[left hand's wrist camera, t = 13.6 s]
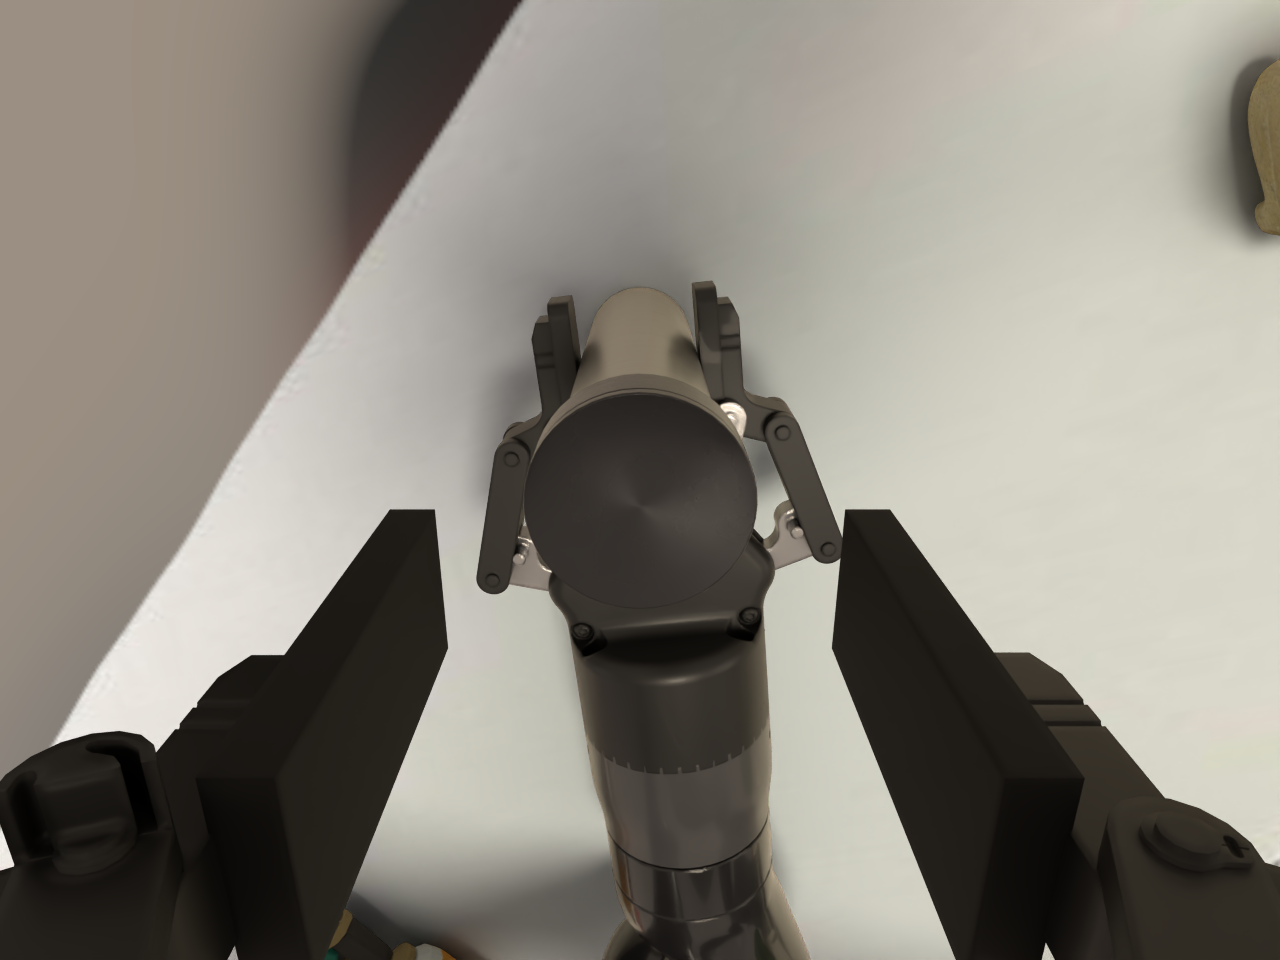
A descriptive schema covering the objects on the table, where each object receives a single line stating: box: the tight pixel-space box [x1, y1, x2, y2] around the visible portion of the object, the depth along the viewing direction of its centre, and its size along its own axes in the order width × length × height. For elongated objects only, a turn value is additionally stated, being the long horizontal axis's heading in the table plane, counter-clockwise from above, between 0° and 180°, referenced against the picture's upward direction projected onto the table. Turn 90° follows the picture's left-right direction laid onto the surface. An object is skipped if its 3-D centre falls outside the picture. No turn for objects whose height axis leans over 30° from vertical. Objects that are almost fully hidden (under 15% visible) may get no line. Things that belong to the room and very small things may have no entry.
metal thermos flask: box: [570, 287, 711, 398], centre depth 26 cm, size 4×4×18 cm
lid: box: [524, 374, 757, 609], centre depth 18 cm, size 5×5×2 cm
